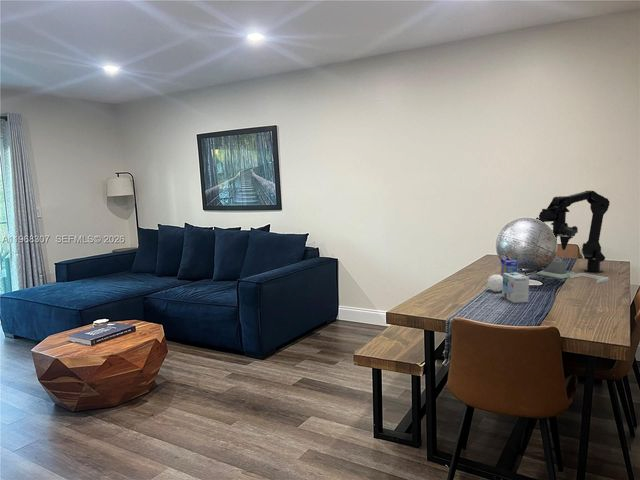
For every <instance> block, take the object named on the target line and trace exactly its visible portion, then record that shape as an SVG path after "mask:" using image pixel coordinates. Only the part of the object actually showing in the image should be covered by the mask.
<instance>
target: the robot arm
mask: <svg viewBox="0 0 640 480" xmlns="http://www.w3.org/2000/svg"><path fill="white" fill-rule="evenodd" d="M583 201H586V202H587V203H588V204H590V211H591V213H592V215H591V222H590V227H589V234H588V238H587V239H588V240H587V241H586V242H585V243H584V242H583V243H582V248H581V252H582V255H583V258H584V260H587V263H586V264H587V265H586V269H584V272H589V273H597V274H598V273H601V272H603V271H604V270H602V269H601V262H602V263H603V262H604V261H605V260H606V256H605V255H604V254H603V253H602V246H601V243H600V238H601V237H600V236H601V232H602V231H601V230H602V225H603V219H604V215H605V214H606V212H608V210H609V207H610V204H611V203H610V200H609V199H608V198H607V197H605V196H603V195H601V194H599V193H597V192H596V191H594V190H585V191H581V192H579V193H574V194H570V195H566V196H565V195H564V196H561V195H560V196H559V195H558V196H553V198H552V201H551V202H550V204H548V206H547V208H542V209H541V211H540V213H539V215H538V219H539V221H540V220H541V221H542V223H550V222H551V223H550V225H551V226H552V231H553V233H554V235H555V237H556V241H557V240H558V237H559V241H560V245H561V248H562V249H561V250H563V251H565V250H566V248H567V245H568V244H569V241H570V240H571V239H572V238H574V237H576V234H578V226H576V225H574V226H569V224H568V223H567V222H566V220H567V219H566V218H567V213H570V210H569V209H568V207H570V206H571V205H573V204H575V203H579V202H583ZM541 221H540V222H541Z"/></svg>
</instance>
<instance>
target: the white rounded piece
mask: <svg viewBox="0 0 640 480" xmlns="http://www.w3.org/2000/svg"><path fill="white" fill-rule="evenodd" d="M502 286H503V277H502V276H501V274H492V275H491V276H489V278H488V279H487V287H488V289H489V290H491V291H492V292H494V293H500V292H502Z"/></svg>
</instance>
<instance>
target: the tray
mask: <svg viewBox="0 0 640 480" xmlns="http://www.w3.org/2000/svg"><path fill="white" fill-rule="evenodd" d="M534 273H535V272H534ZM574 274H576V273H575V271H570V270H566V274H562V275H560V274H555V273H550V272H544V270H543V271H540V272H537V273H535V275H540V276H545V277H551V278H555V279H560V280H561V279H562V280H563V279H566V278H570V275H574Z"/></svg>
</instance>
